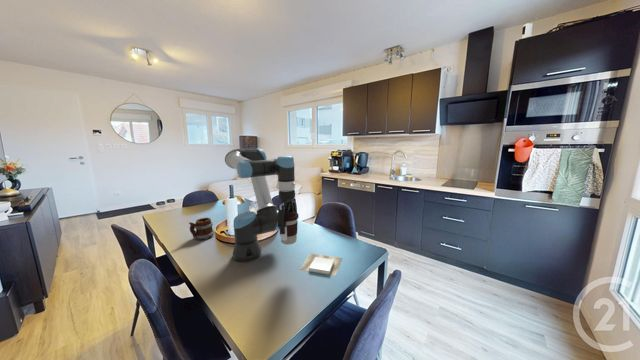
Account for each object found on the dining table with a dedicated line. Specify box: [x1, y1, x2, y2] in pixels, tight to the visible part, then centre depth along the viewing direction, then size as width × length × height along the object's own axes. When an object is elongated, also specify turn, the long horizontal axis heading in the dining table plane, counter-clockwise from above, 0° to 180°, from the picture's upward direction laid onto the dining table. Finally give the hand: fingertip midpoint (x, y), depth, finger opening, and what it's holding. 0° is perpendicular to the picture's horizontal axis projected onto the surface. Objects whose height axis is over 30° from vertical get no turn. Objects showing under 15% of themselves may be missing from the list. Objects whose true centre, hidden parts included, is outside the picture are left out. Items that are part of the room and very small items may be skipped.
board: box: [299, 253, 343, 277], centre depth 110 cm, size 18×16×1 cm
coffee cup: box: [277, 210, 299, 245], centre depth 103 cm, size 10×10×15 cm
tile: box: [308, 257, 334, 276], centre depth 106 cm, size 10×2×10 cm
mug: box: [188, 217, 215, 241], centre depth 143 cm, size 12×14×15 cm
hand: (288, 235), depth 104 cm, fingers closed on coffee cup, 9 cm apart
